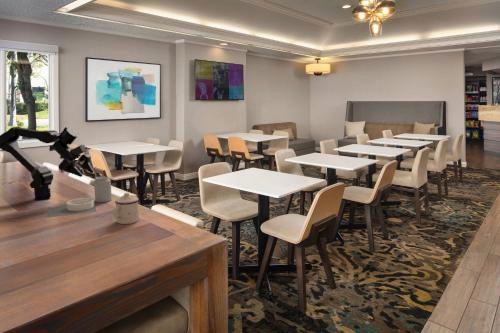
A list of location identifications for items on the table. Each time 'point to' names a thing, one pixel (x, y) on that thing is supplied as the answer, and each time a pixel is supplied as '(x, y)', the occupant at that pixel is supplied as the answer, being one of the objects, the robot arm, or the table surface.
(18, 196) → the table surface
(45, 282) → the table surface
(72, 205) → the bowl
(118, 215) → the teacup with lid
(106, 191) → the can
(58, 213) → the placemat
